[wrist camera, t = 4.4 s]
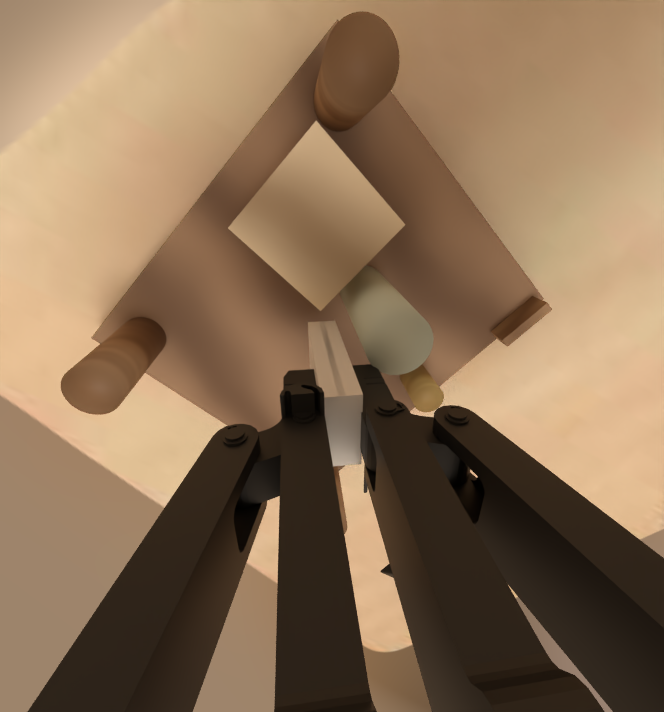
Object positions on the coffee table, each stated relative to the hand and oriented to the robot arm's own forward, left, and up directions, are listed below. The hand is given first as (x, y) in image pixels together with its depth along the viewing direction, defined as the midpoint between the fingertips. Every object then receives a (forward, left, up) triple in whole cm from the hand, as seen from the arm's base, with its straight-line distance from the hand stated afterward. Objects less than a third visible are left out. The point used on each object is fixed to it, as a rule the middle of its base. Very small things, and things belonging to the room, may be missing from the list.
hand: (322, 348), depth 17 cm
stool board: (0, +1, -6) cm, 6 cm away
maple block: (-4, -4, -5) cm, 7 cm away
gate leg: (-3, +3, -4) cm, 6 cm away
